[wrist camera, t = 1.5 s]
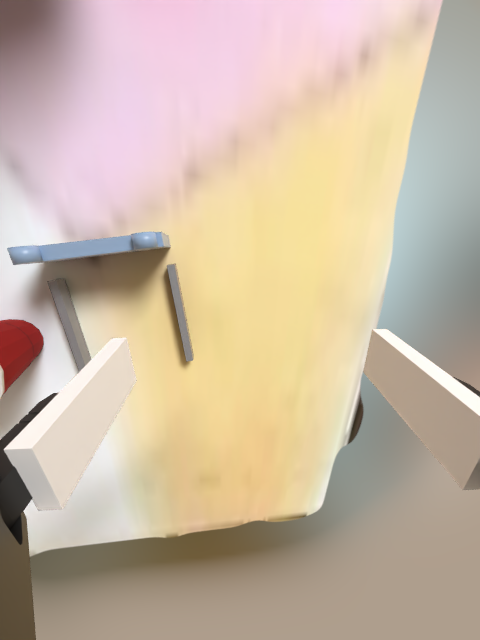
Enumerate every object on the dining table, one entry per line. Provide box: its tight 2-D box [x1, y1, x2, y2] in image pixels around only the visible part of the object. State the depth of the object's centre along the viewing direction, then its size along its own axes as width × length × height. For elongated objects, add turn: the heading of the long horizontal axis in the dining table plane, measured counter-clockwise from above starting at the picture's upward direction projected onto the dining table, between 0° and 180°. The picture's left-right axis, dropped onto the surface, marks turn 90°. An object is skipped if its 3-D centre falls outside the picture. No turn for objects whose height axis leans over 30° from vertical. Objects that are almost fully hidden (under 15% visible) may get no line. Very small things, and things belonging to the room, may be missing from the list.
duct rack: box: [7, 232, 193, 372], centre depth 29 cm, size 18×30×9 cm, turn 97°
